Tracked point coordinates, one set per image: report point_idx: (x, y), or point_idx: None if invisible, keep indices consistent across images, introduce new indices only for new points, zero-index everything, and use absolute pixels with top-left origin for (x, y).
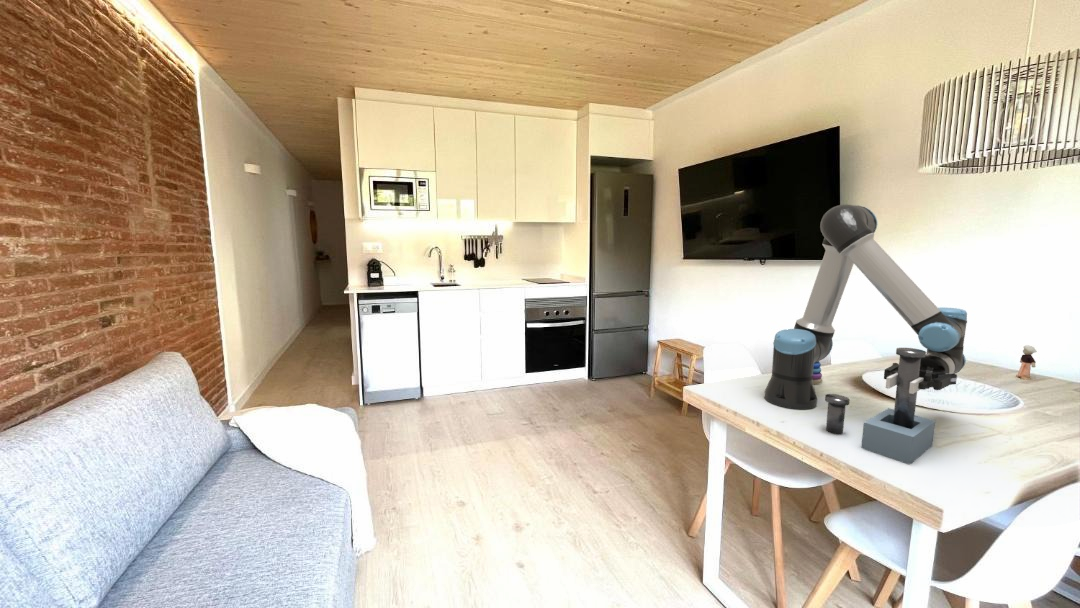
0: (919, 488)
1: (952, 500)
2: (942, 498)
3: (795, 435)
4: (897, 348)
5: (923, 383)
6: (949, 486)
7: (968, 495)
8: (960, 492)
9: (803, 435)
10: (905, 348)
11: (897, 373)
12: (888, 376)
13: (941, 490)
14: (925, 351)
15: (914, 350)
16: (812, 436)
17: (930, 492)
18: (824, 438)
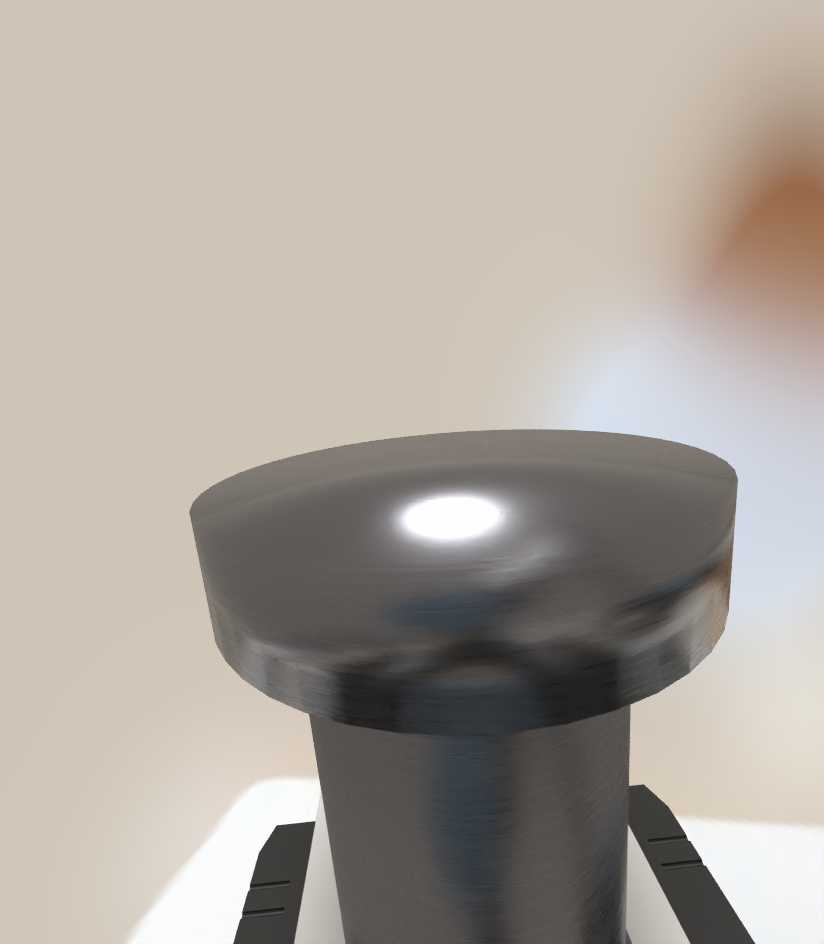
0: (303, 815)
1: (220, 826)
2: (245, 812)
3: (784, 831)
4: (647, 439)
5: (280, 850)
6: (212, 940)
7: (159, 922)
8: (182, 920)
9: (789, 867)
10: (618, 476)
11: (648, 917)
12: (634, 792)
13: (243, 868)
14: (192, 516)
15: (400, 475)
16: (779, 900)
17: (274, 819)
18: (753, 940)
